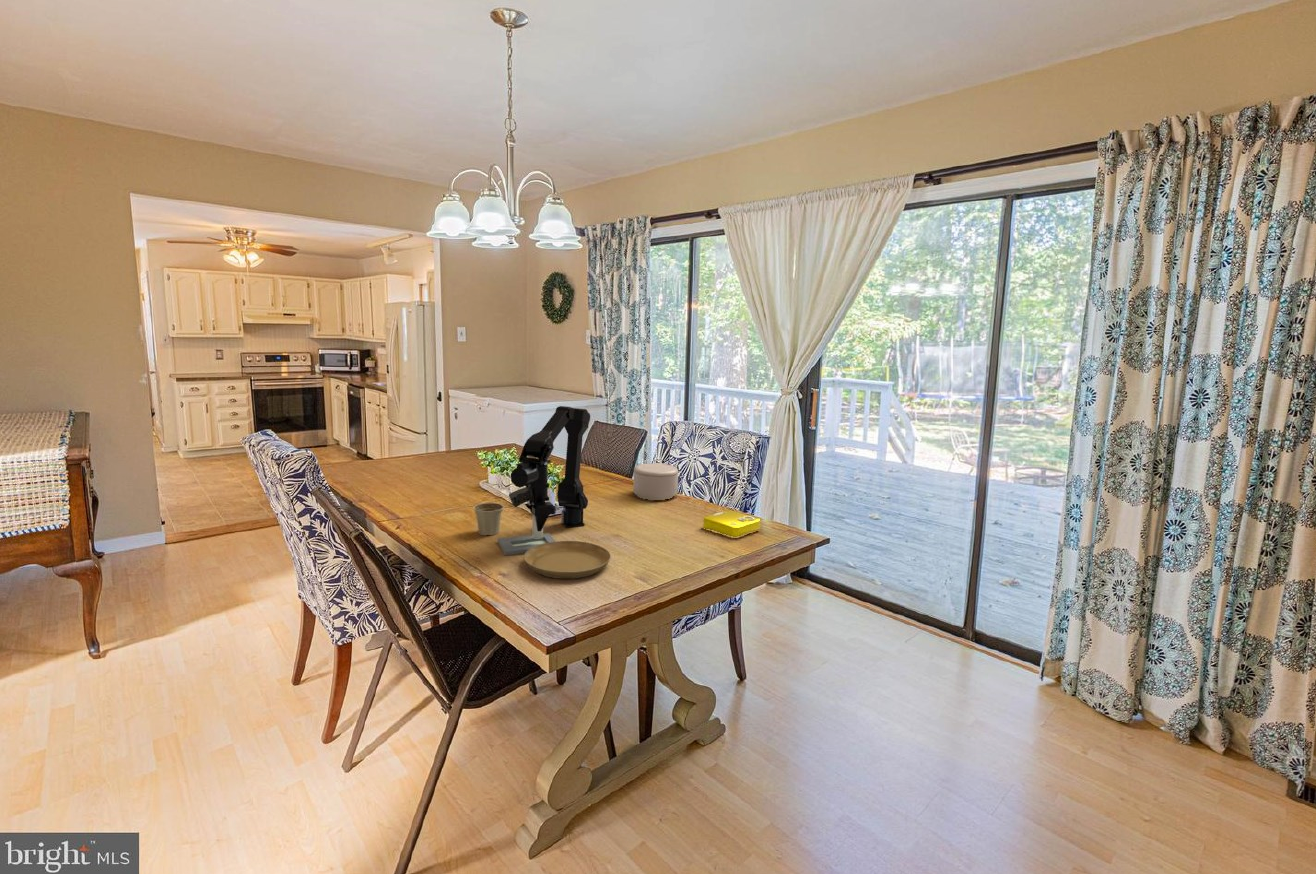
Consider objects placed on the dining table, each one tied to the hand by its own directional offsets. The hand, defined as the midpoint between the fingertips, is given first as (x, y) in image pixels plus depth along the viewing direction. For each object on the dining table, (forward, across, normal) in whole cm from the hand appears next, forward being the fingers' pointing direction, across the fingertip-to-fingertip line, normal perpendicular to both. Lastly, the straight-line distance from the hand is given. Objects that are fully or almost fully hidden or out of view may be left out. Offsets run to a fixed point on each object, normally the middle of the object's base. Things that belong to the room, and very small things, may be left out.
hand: (537, 529), depth 189 cm
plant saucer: (+5, +19, +4) cm, 20 cm away
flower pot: (+5, -16, -12) cm, 21 cm away
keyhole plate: (+5, 0, -3) cm, 6 cm away
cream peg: (+2, 0, 0) cm, 3 cm away
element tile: (+6, +6, +65) cm, 66 cm away
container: (+5, -41, +58) cm, 71 cm away
